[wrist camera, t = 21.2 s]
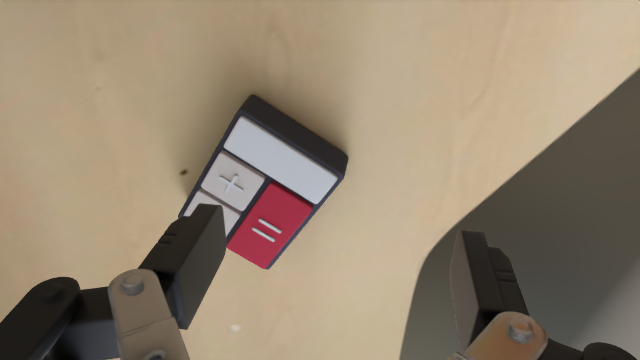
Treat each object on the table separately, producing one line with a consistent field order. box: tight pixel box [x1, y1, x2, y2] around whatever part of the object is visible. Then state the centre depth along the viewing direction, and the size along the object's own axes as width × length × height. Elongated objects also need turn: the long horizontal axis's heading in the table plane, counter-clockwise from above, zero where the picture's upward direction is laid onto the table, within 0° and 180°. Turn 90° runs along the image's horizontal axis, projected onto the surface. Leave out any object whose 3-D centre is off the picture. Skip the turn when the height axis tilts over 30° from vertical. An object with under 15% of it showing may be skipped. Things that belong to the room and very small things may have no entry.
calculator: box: [178, 95, 348, 269], centre depth 44 cm, size 11×4×15 cm
